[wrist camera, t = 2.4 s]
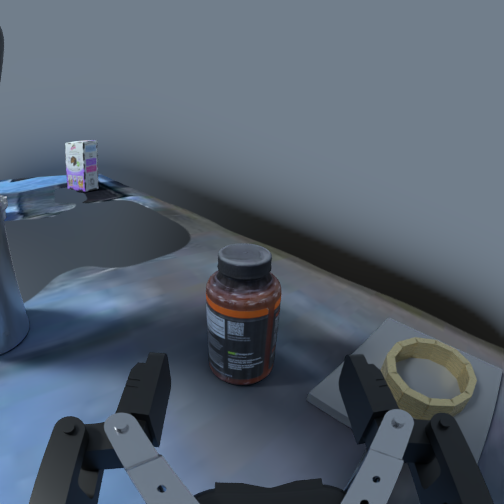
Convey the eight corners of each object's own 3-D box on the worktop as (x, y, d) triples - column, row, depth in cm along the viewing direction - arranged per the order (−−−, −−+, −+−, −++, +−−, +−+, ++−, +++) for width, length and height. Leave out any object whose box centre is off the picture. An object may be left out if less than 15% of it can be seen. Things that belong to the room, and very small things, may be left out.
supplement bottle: (258, 340, 32) (267, 235, 27) (283, 379, 26) (301, 264, 22) (201, 350, 29) (198, 241, 25) (218, 394, 24) (218, 274, 20)
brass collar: (363, 390, 24) (369, 374, 23) (402, 342, 30) (408, 327, 29) (451, 436, 18) (462, 421, 17) (474, 375, 24) (482, 360, 23)
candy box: (99, 189, 94) (98, 139, 87) (85, 192, 89) (82, 141, 82) (80, 185, 100) (78, 140, 93) (66, 188, 95) (64, 142, 89)
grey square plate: (306, 400, 24) (308, 392, 24) (386, 324, 35) (388, 317, 34) (463, 487, 14) (470, 481, 13) (498, 376, 24) (502, 369, 24)
